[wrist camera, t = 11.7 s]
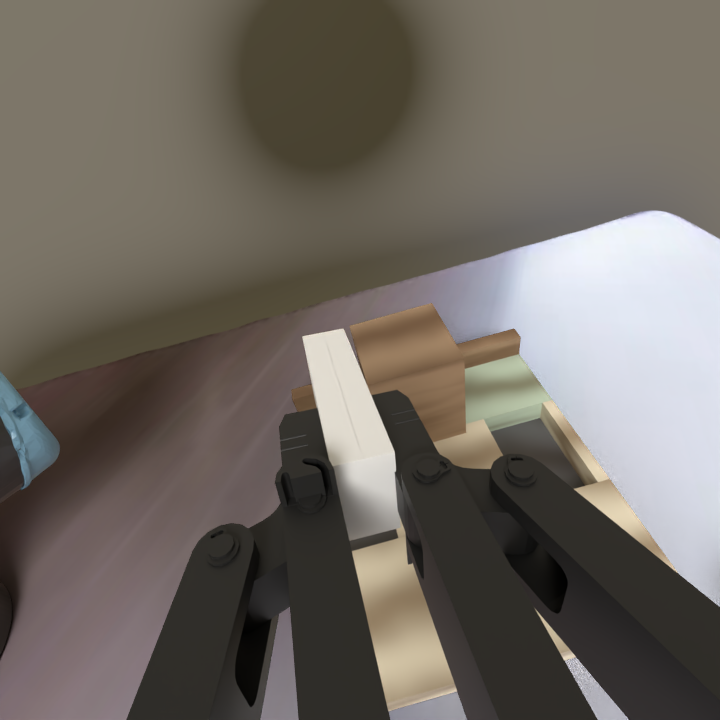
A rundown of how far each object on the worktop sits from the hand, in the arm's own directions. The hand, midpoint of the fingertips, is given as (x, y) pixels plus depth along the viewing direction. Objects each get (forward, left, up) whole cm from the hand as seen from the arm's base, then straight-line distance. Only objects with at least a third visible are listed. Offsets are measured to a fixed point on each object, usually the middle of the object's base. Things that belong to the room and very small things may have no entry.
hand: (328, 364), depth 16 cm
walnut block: (-12, +12, -24) cm, 29 cm away
